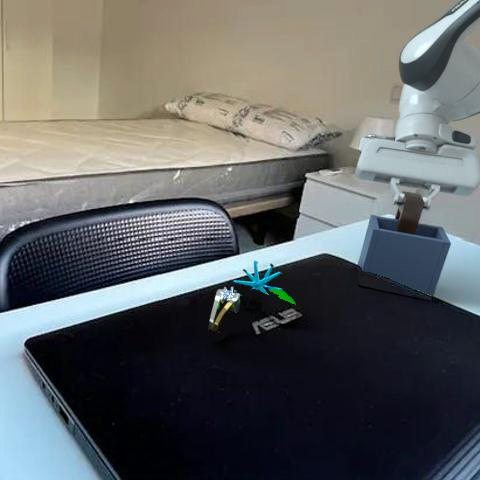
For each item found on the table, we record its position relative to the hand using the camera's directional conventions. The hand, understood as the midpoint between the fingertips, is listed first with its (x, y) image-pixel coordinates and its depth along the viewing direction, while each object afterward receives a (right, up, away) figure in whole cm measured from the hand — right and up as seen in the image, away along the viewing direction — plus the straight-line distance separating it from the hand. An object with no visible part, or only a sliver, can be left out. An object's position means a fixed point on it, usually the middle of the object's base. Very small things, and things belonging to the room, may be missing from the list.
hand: (411, 206), depth 88 cm
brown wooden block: (0, -6, +4) cm, 7 cm away
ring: (-36, -20, -18) cm, 44 cm away
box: (-2, -14, +3) cm, 14 cm away
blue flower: (-27, -17, -8) cm, 33 cm away
